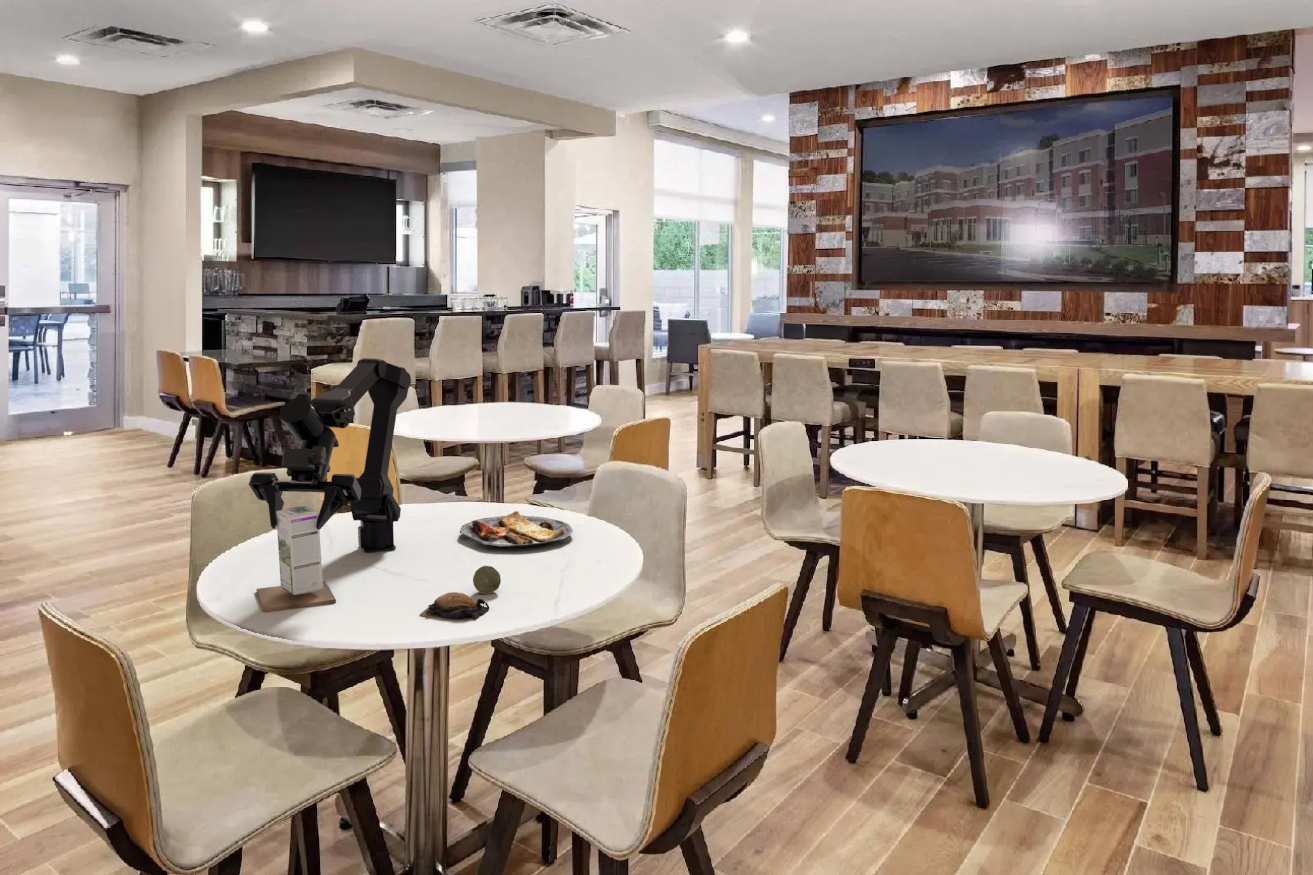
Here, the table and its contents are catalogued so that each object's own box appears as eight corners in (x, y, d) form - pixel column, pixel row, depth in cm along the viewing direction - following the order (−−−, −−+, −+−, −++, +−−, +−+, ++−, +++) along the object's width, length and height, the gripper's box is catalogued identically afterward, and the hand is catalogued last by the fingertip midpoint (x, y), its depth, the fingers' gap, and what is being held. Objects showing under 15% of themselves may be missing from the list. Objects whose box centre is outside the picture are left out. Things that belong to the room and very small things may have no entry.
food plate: (442, 532, 223) (442, 517, 222) (529, 519, 238) (529, 504, 237) (500, 560, 204) (501, 544, 203) (591, 544, 219) (591, 528, 218)
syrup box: (324, 589, 177) (320, 510, 174) (292, 596, 173) (288, 516, 170) (310, 581, 181) (307, 504, 178) (278, 588, 177) (274, 509, 174)
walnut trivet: (325, 583, 185) (324, 580, 185) (335, 602, 174) (335, 599, 174) (256, 591, 180) (256, 588, 179) (263, 612, 169) (263, 608, 169)
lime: (504, 591, 182) (504, 565, 181) (484, 598, 179) (483, 571, 178) (488, 586, 185) (488, 561, 184) (468, 592, 182) (467, 566, 181)
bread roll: (416, 620, 168) (416, 599, 168) (437, 604, 176) (436, 584, 176) (475, 625, 166) (474, 604, 165) (493, 609, 174) (493, 589, 174)
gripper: (250, 428, 176) (226, 503, 167) (353, 430, 176) (335, 505, 167) (269, 462, 185) (248, 535, 176) (368, 464, 185) (352, 537, 176)
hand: (295, 528), depth 174 cm, fingers closed on syrup box, 8 cm apart
